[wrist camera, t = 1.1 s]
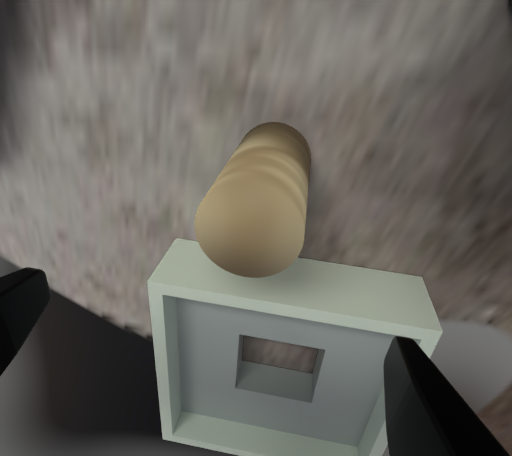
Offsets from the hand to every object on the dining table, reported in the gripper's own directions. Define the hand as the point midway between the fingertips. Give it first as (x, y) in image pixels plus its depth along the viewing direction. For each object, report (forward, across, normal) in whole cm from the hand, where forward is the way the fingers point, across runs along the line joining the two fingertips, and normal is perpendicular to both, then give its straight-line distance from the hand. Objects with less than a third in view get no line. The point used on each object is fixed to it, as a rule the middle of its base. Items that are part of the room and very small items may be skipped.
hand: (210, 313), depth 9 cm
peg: (+12, 0, 0) cm, 12 cm away
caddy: (+12, -2, +14) cm, 19 cm away
